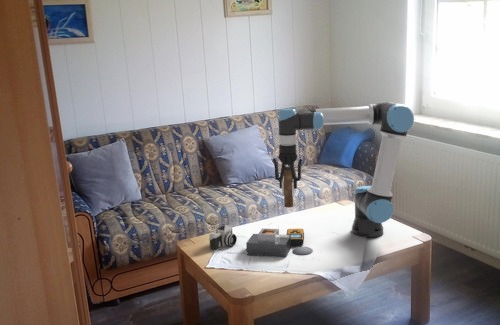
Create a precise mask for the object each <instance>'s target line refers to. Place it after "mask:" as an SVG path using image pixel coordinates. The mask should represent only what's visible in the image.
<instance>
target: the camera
mask: <svg viewBox="0 0 500 325" xmlns="http://www.w3.org/2000/svg"><path fill="white" fill-rule="evenodd" d="M215 229H216V230H214V231H212V232H210V233H209V238H208V240H209V250H210V251H211V252H217V251H218V250H220V249H221V248H225V247H227V246H229V247H233V246H235V245H236V243H237V241H238V240H237V238H238V237H237V235H236V234H235V233H233V227H232V226H230V224H227V225H222V226H218V227H216V228H215Z"/></svg>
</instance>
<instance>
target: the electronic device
mask: <svg viewBox="0 0 500 325" xmlns="http://www.w3.org/2000/svg"><path fill="white" fill-rule="evenodd" d="M286 230H287V231H286V235H291V247H292V246H294V247H295V246H296V247H297V246H298V247H300V246H303V245H304V241H305V232H304V231H305V230H304V228H288V229H286Z"/></svg>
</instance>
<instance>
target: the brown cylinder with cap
mask: <svg viewBox="0 0 500 325" xmlns="http://www.w3.org/2000/svg"><path fill="white" fill-rule="evenodd" d="M283 180H284V196H283V199H284V200H283V202H284V203H283V206H284V208H288V209H289V208H293V207H294V196H292V182H293V176H292V172H291V167H290V165H286V166H285V167H284V177H283Z"/></svg>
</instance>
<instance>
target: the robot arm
mask: <svg viewBox="0 0 500 325" xmlns="http://www.w3.org/2000/svg"><path fill="white" fill-rule="evenodd" d="M414 120H415V116H414V112H413V111H412V110H411V109H410V107H408V106H406V104H403V103H397V102H394V101H393V102H392V101H388V102H387V101H386V102H380V103H379V102H378V103H369V104H368V105H367V106H352V107H351V106H350V107H328V108H311V109H306V108H300V109H297V110H296V109H295V108H282V109H280V110H278V121H277V122H278V144H279V145H278V148H279V149H278V156H276V157H274V158H273V159H272V162H273V166H274V176H275V177H274V179H275V180H276V181H278V182H279V189H281V197H284V167H286V166H290V167H291V172H292V176H293V182H292V196H293V197H295V195H296V190H297V189H298V182H299V181H301V180H302V166H303V165H302V163H303V160H304V158H302V157H298V155H297V144H296V143H297V131H306V130H308V131H309V130H313V131H315V130H316V131H317V130H322V129H323V127H324V126H325V125H327V126H328V125H347V124H349V125H351V124H368V125H369V126H371V125H374V126H375V125H378V126H380V129H379V132H380V134H381V141H380V146H379V151H378V154H377V158H376V159H377V160H376V165H375V169H374V173H373V179H372V182H371V185H363V186H357V187H355V188H354V219H353V223H352V224H351V225H352V226H351V233H352V234H353V235H354V236H358V237H361V238H376V237H380V236H382V235H383V234H384V226H383V223H385V222H387V221H389V220H390V219H391V217H392V216H393V213H394V206H393V203H392V200H393V197H394V195H393V192H392V191H391V190H392V184H393V180H394V177H395V176H394V175H395V171H396V167H397V164H398V163H397V162H398V158H399V154H400V150H401V145H402V142H403V139H405V138H406V137H407V135H408V131H409V130H410V129H411V128H412V126H413V124H414V123H415V121H414ZM279 161H280V162H281V169H280V168H279ZM295 162H297V171H296V169H295V168H296V167H295ZM279 169H280V171H279ZM296 172H297V173H296Z"/></svg>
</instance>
